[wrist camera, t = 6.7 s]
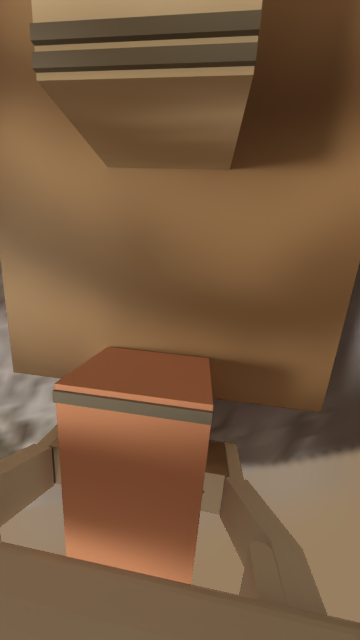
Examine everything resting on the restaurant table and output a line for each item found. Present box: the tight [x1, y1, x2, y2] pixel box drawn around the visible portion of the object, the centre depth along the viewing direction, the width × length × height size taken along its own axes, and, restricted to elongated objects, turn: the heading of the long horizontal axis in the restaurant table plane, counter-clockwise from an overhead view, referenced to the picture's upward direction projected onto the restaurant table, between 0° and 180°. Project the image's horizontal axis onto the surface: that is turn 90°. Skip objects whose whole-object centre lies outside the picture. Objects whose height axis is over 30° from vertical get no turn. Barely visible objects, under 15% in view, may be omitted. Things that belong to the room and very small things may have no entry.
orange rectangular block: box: [52, 347, 213, 584], centre depth 8 cm, size 8×5×4 cm, turn 176°
